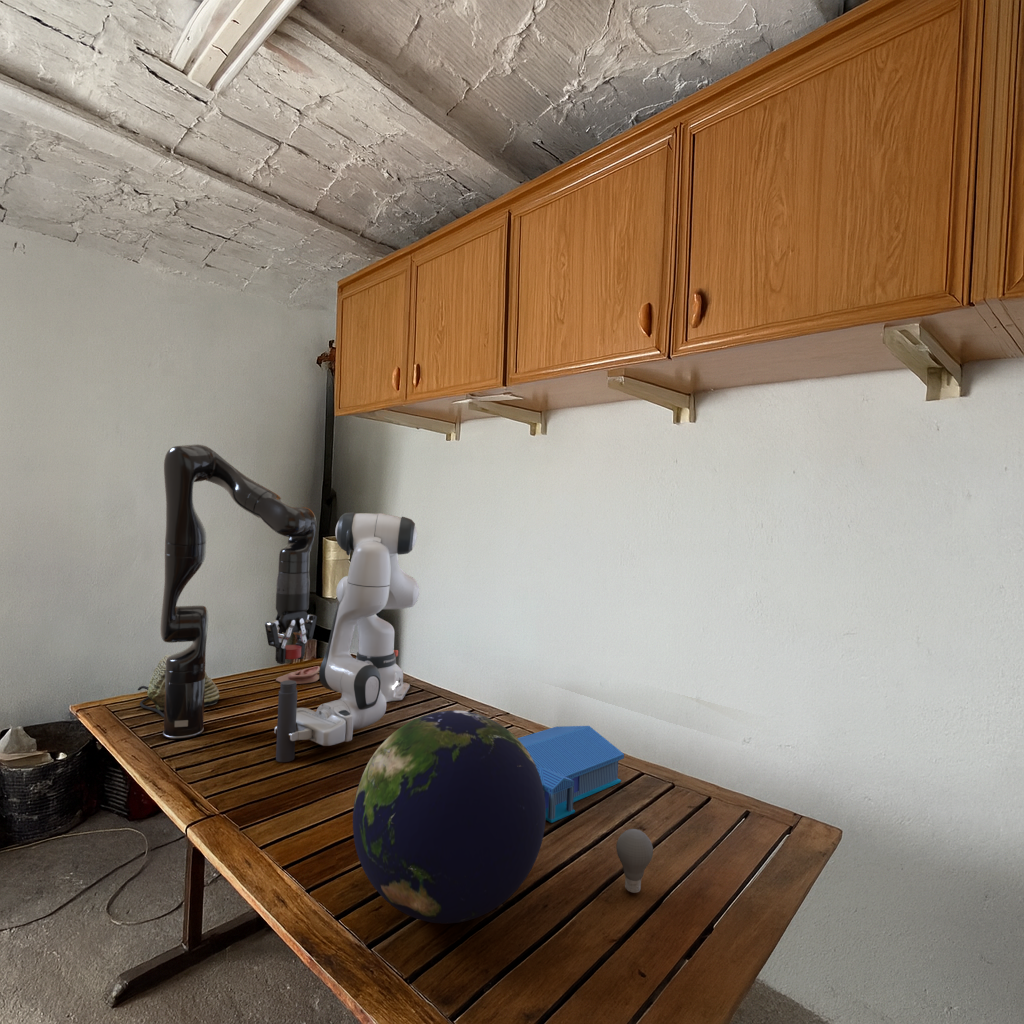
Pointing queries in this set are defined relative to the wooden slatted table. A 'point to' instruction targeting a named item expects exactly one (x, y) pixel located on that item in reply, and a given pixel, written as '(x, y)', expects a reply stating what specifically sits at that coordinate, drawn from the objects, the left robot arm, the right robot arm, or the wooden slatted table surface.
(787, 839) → the wooden slatted table surface
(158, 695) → the fossil
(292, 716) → the dark gray cylinder
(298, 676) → the anatomical model
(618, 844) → the light bulb
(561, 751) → the model building
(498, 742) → the globe
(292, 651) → the lid
